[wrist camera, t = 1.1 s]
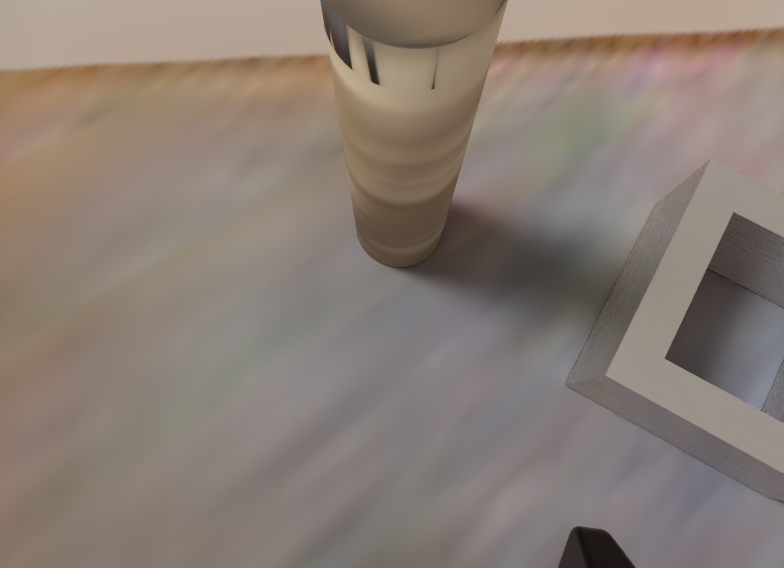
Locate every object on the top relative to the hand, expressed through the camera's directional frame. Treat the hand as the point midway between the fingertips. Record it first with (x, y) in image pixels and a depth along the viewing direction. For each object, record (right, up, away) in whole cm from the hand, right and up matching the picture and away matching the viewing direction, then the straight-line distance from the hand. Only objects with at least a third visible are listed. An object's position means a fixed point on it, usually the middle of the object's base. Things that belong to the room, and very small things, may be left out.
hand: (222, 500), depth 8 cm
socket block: (+13, +1, +13) cm, 18 cm away
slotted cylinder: (+2, +5, +14) cm, 15 cm away
